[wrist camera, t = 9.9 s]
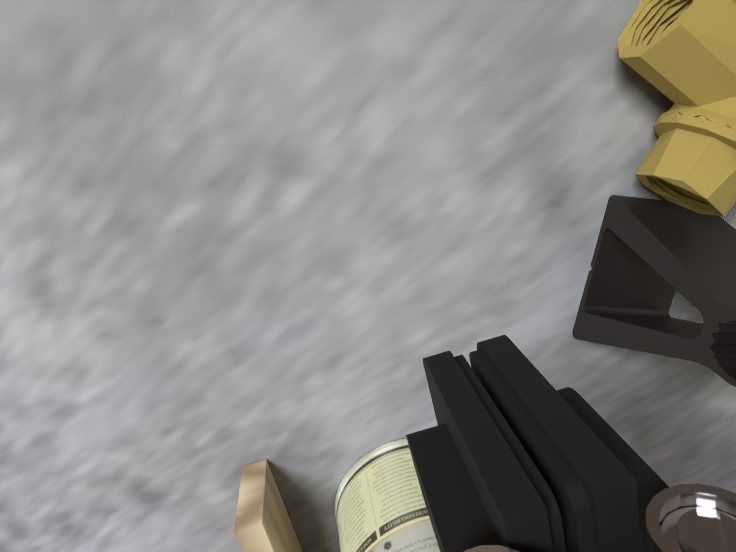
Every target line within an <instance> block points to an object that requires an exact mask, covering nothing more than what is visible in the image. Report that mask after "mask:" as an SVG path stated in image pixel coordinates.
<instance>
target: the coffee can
mask: <svg viewBox="0 0 736 552" xmlns="http://www.w3.org/2000/svg"><path fill="white" fill-rule="evenodd" d="M334 511H335V516H336V522H337V525H338V532H339V541H340V551H341V552H440V550H439V546H438V543H437V540H436V537H435V534H434V531H433V527H432V524H431V521H430V518H429V515H428V511H427V508H426V505H425V502H424V498H423V495H422V492H421V488H420V485H419V481H418V478H417V474H416V471H415V467H414V463H413V460H412V456H411V452H410V449H409V445H408V441H407V438H404V439H400V440H395V441H392V442H389V443H386V444H384V445H382V446H380V447H378V448H376V449H374V450H372V451H371V452H369V453H367V454H366V455H365V456H363V457H362V458H361V459H359V460H358V461H357V462H356V463H355V464H354V465H353V466H352V467H351V469H350V470H349V471H348V472H347V474H346V475H345V476H344V478H343V480H342V482H341V484H340V486H339V488H338V491H337V495H336V500H335V509H334Z"/></svg>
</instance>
